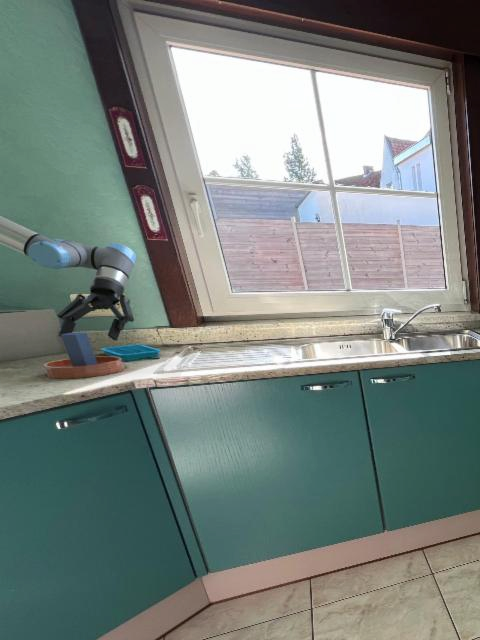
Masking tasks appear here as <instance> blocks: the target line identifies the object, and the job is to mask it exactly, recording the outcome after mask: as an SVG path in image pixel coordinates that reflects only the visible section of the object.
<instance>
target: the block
mask: <svg viewBox="0 0 480 640" xmlns="http://www.w3.org/2000/svg"><path fill="white" fill-rule="evenodd" d="M60 338H61V339H62V342H63V345H64V348H65V350H66V353H67V356H68V359H70V361H71V363H72V366H73V367H77V366H88V365H97V361H96V358H95V353H94V351H93V347H92V344H91V342H90V339H89V336H88V334H87V332H72V333H67V334H61V337H60Z"/></svg>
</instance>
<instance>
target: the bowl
mask: <svg viewBox="0 0 480 640" xmlns="http://www.w3.org/2000/svg"><path fill="white" fill-rule="evenodd" d="M94 356H95V355H94ZM95 358H96V361H97V365H88V366H77V367H73V366H72V363H71V361H70V358H65V359H59V360H53V361H50V362H46V363H44V364H43V365H42V366H43V368H44V371H45V374H46V375H47V377H48V378H49V379H58V380H59V379H61V380H71V379H85V378H93V377H100V376H102V377H103V376H108V375H113V374H116V373H120V372H123V371H125V369H126V366H125V364H124V361H122V358H120V357H115V356H109V355H96V356H95Z"/></svg>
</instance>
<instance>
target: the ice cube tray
mask: <svg viewBox="0 0 480 640" xmlns="http://www.w3.org/2000/svg"><path fill="white" fill-rule="evenodd" d="M99 350H100V351H103V352H104V354H105V356H115V357H120V358H122V361H123V362H134V361H143V360H148V361H149V360H160V352H162V350H161V349H159V348H155V347H151V346H147V345H144V344H128V345H120V346H110V347H102V348H99Z"/></svg>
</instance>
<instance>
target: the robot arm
mask: <svg viewBox="0 0 480 640" xmlns="http://www.w3.org/2000/svg"><path fill="white" fill-rule="evenodd" d="M0 245H2V246H4V247H7V248H8V249H11V250H14V251H16V252H18V253H20V254H23V255H25V256H27V257H29V258H30V259H31V260H32V261H33V262H34V263H35V264H37V265H38V266H41V267H43V268H47V269H55V270H59V269H67V268H68V269H69V268H85V269H91V270H95V271H96V272H95V274H94V277H93V279H92V282H91V285H90V287H89V290H90V293H89V294H88V295H83V294H82V293H78V294H76V296H75V298H74V299H73V300H72V301H71V302H70V303H68V305H66V306H65V307H64V308H63V309H62V310H61V311H60V312H59V313H57V314H56V316H57V318H59V319H60V320H62V322H61V324H60V331H59V334H58V336H59V337H60V338H62V337H61V334H67V333H74V329H75V327H76V325H77V323H76V321H78V320H80V319H81V318H83V317H84V316H86V315H87V314H89V313H91V312H95V311H97V310H106V311H108V310H109V309H110V311H111V312H112V313H113V314H114V317H115V318H113V320H112V322H111V325H110V328H109V331H108V334H107V336H108V337H109V338H110V339H111V340H113V341H115V342H116V341H118V339H119V337H120V333H121V331H122V332H123V331H124V328H125V326H126V324H128V322H131V323H133V322H134V321H135V318H134V314H133V312H132V309H131V305H130V303H131V299H130V298H128V296H126V295H125V294H124V292H125V290H126V287H127V284H128V281H129V278H130V276H131V273H132V271H133V268H134V267H135V263H136V259H137V255H136V253H135V252H134V250H132V249H131V247H129V246H126V245H124V244H122V243H118V242H113V243H112V242H110V243H108V244H107V245H106V247H100V246H94V245H90V244H85V243H80V242H76V241H75V242H74V241H73V240H70V239H69V240H68V239H67V240H66V239H60V238H56V239H51V238H49V237H47V236H44V235H42V234H40V233H38V232H36V231H34V230H32V229H29V228H27V227H25V226H23V225H21V224H19V223H17V222H15V221H12V220H10V219H8V218H6V217H4V216H2V215H0ZM118 303H119V304H120V308H121V310H122V313H121V311H120V310H119V308H118V306H117V304H118ZM89 304H90V305H89Z"/></svg>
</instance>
